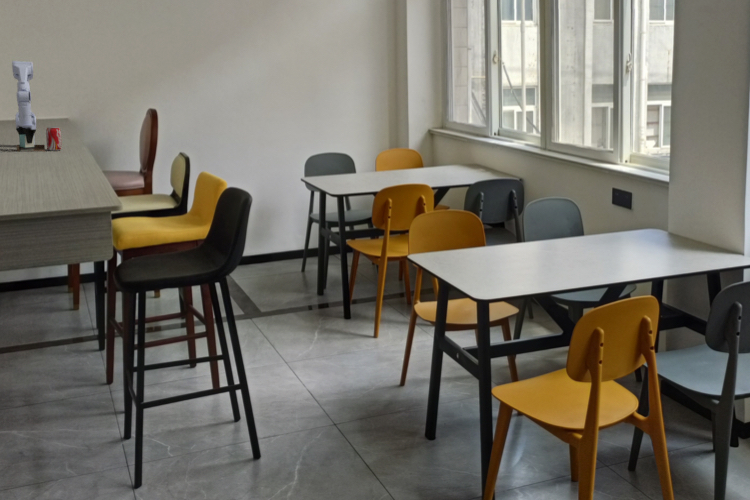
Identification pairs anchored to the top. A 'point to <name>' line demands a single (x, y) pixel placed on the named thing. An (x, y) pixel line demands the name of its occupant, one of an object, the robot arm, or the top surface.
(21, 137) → the block
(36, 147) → the tray
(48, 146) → the soda can
